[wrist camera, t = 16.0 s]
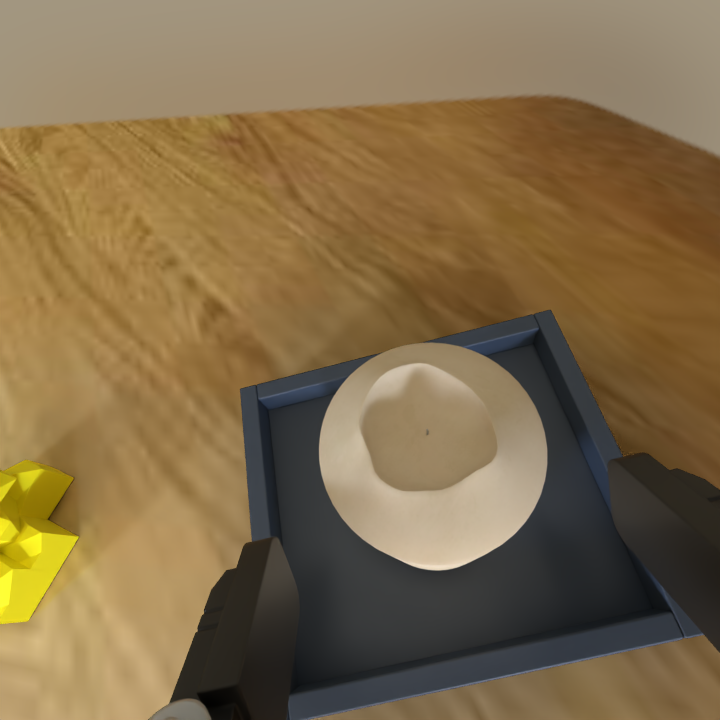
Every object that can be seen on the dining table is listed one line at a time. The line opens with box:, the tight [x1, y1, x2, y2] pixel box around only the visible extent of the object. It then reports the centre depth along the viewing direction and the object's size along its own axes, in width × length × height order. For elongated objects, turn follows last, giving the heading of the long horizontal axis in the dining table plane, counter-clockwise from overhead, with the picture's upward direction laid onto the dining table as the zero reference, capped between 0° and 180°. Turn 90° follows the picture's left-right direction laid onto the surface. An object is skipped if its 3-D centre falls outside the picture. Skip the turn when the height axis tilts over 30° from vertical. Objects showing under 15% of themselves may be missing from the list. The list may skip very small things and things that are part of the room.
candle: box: [319, 343, 547, 570], centre depth 14 cm, size 6×6×10 cm
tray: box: [240, 310, 704, 720], centre depth 18 cm, size 15×13×2 cm
